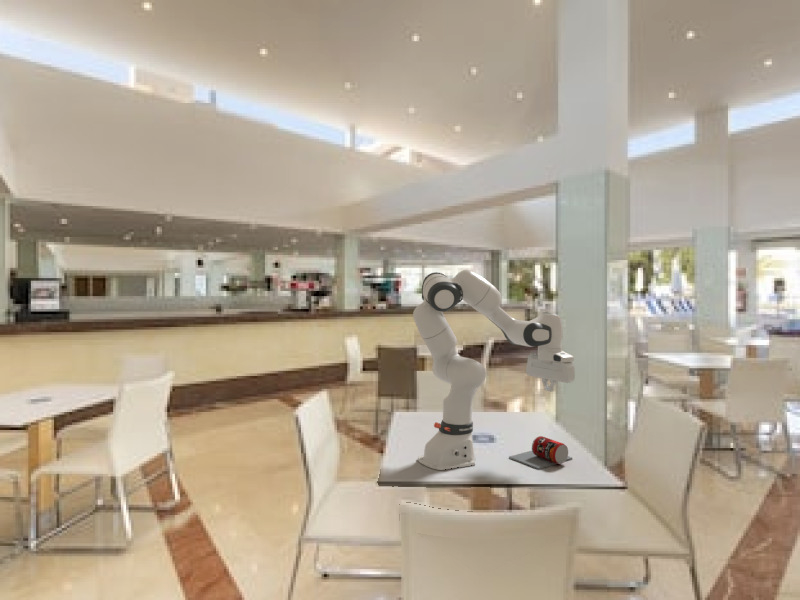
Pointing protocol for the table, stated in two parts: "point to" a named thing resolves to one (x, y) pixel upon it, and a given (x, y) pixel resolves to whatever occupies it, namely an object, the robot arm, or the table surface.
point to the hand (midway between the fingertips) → (548, 390)
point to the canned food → (550, 449)
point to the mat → (533, 460)
